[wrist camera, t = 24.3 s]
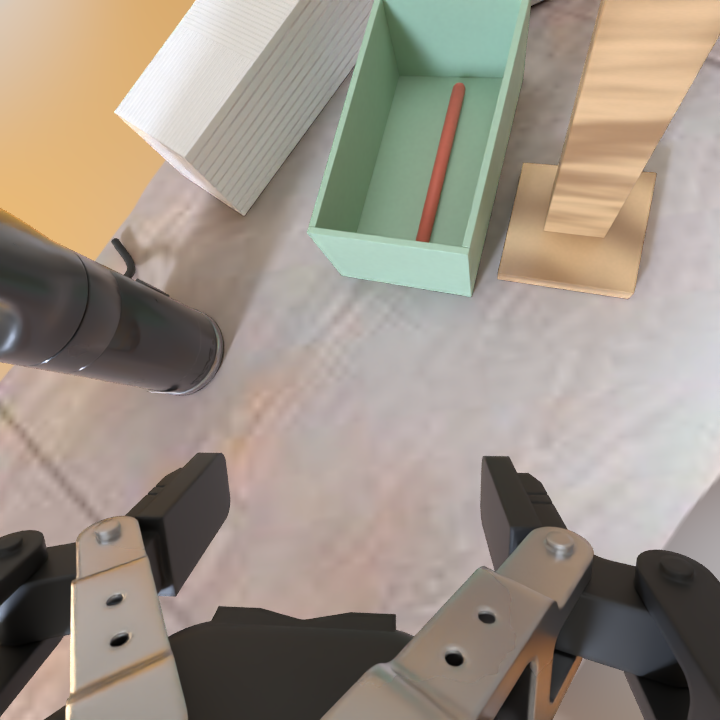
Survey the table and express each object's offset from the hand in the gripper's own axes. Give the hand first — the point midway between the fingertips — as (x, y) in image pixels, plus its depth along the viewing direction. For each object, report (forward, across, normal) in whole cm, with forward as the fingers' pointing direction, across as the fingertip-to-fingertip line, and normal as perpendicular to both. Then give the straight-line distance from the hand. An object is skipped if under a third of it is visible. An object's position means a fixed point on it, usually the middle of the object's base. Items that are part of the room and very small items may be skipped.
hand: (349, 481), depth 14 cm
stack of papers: (+46, +11, -25) cm, 53 cm away
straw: (+35, -5, -13) cm, 38 cm away
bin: (+37, -4, -13) cm, 39 cm away
